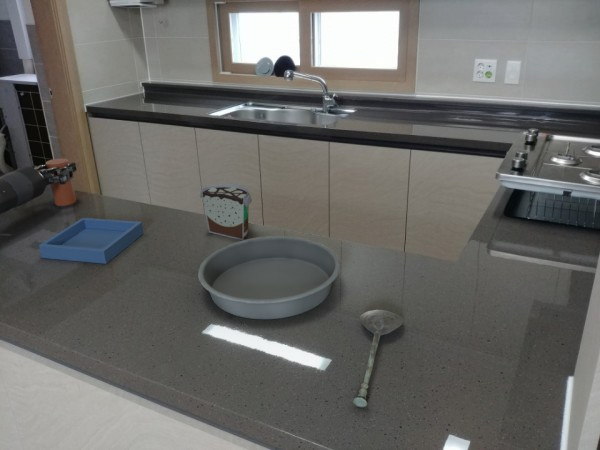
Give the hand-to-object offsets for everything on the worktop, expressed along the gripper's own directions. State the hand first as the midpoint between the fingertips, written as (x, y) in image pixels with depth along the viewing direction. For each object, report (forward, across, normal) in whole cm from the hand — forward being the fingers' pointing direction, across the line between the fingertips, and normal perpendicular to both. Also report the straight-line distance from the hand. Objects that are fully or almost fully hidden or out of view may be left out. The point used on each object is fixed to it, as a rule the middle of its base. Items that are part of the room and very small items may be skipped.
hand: (64, 165), depth 137 cm
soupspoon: (-51, -85, +9) cm, 99 cm away
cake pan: (-35, -65, +9) cm, 74 cm away
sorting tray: (-25, -23, +9) cm, 35 cm away
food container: (-13, -50, +9) cm, 52 cm away
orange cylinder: (-3, 0, +9) cm, 9 cm away
